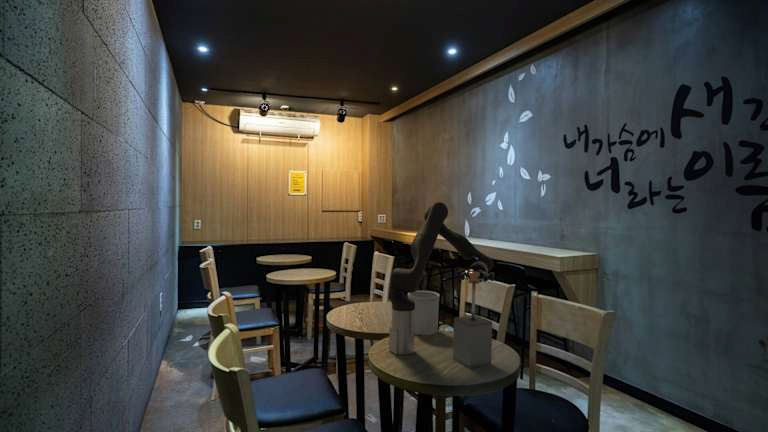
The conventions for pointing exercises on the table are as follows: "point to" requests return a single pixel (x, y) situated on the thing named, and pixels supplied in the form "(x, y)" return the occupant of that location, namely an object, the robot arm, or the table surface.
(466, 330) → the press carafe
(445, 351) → the table surface
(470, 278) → the plunger
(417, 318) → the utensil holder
